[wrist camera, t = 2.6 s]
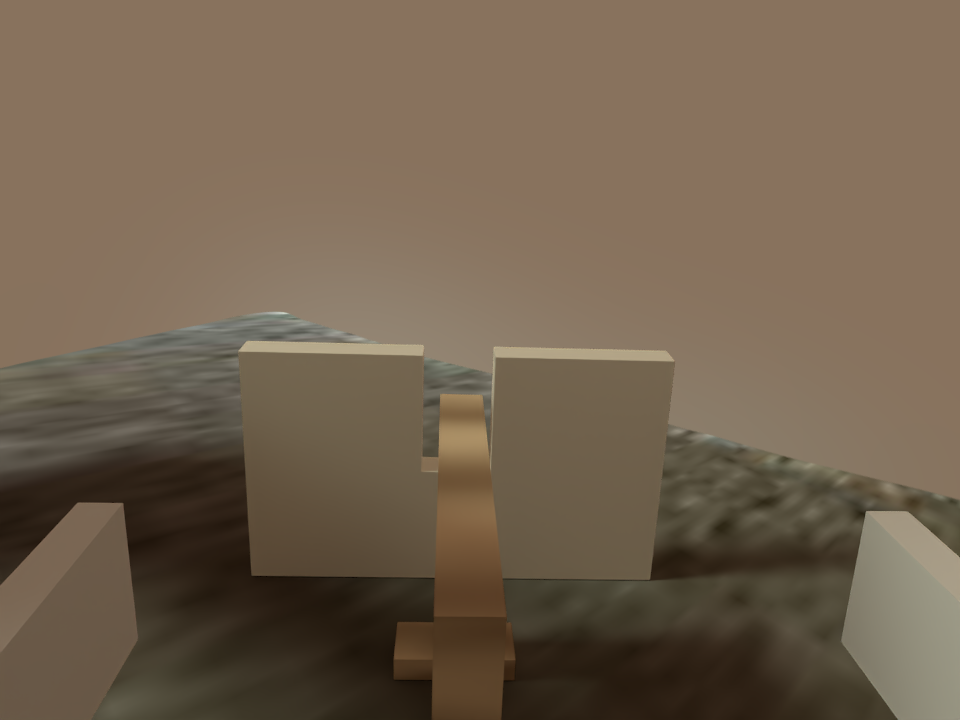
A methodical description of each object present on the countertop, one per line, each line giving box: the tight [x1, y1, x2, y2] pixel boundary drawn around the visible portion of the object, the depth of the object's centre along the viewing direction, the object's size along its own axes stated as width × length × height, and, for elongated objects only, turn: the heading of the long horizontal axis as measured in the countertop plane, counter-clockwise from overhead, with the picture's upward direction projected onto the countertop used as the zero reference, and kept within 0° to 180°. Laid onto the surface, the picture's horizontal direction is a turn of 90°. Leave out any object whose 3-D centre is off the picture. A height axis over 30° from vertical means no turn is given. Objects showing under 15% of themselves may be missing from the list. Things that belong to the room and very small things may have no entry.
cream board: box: [238, 341, 675, 580], centre depth 48 cm, size 24×2×14 cm, turn 92°
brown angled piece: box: [394, 394, 516, 720], centre depth 33 cm, size 18×6×14 cm, turn 2°
